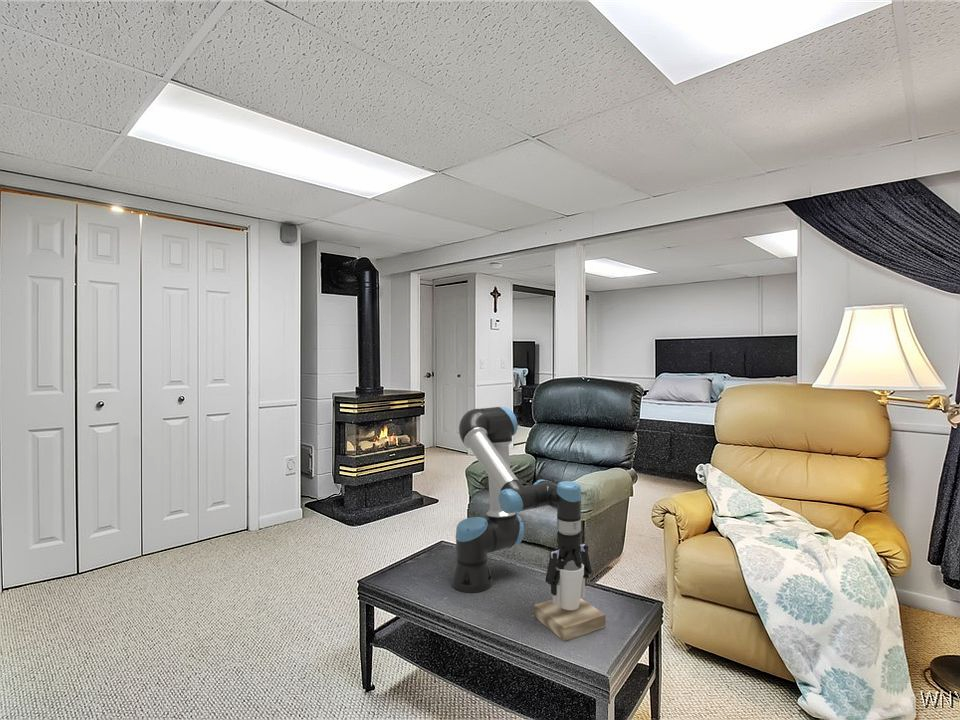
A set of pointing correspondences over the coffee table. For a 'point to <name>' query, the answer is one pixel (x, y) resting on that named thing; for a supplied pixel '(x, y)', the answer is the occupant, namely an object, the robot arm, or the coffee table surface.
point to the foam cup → (570, 585)
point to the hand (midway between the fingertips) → (568, 600)
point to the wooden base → (569, 619)
